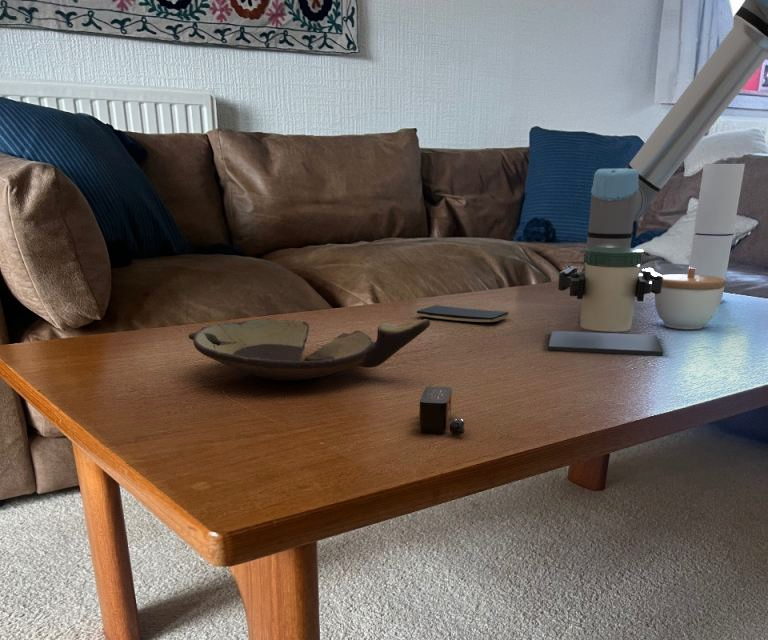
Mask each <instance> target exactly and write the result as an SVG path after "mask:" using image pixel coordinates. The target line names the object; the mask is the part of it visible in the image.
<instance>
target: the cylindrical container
mask: <svg viewBox="0 0 768 640" xmlns="http://www.w3.org/2000/svg"><path fill="white" fill-rule="evenodd" d="M745 166H746V163H703V169H702V175H701V182H700V188H699V194H698V201H697V209H696V214H695V221H694V229H693V234H692V235H693V236H692V242H691V248H690V249H691V250H690V255H689V261H688V269H687V271H688V270H689V268H695V274H694V275H705V276H714V277H719V278H722V279H724V280H725V281H726V278H727V273H728V266H729V262H730V261H729V260H730V254H731V250H732V249H731V248H732V243H733V237H734V231H735V226H736V219H737V213H738V208H739V203H740V196H741V190H742V185H743V178H744V173H745V172H744V171H745ZM724 290H725V287H724V288H723V292H725V291H724ZM723 297H724V293H723V294H722V299H721V302H720V303H722V302H723Z"/></svg>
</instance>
